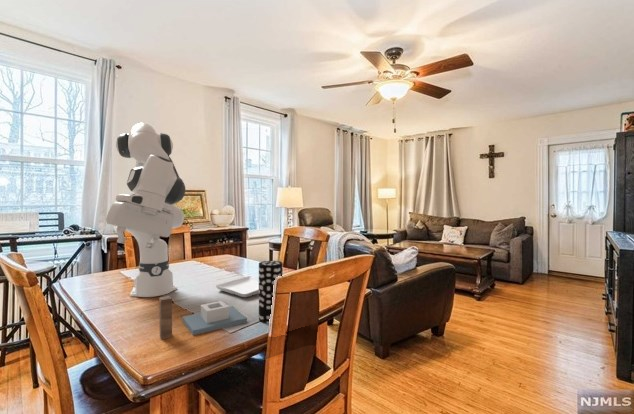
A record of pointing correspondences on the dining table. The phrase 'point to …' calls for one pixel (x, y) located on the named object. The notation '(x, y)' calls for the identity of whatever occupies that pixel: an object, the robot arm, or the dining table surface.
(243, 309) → the dining table surface
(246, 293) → the salad plate
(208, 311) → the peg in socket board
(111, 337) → the dining table surface
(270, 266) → the white-spotted black cylinder
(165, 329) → the brown wooden peg
